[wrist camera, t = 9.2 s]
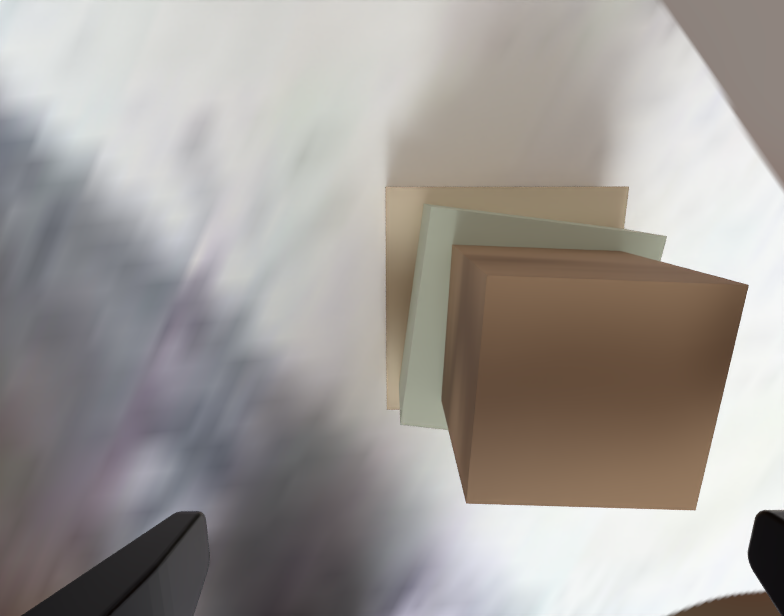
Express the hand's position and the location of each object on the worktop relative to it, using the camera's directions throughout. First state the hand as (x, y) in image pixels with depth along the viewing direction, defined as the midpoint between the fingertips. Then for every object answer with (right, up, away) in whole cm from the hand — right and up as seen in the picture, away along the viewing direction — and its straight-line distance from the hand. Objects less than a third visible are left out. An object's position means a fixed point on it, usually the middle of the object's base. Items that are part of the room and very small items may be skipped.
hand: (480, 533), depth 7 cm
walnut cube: (+3, +3, +7) cm, 8 cm away
